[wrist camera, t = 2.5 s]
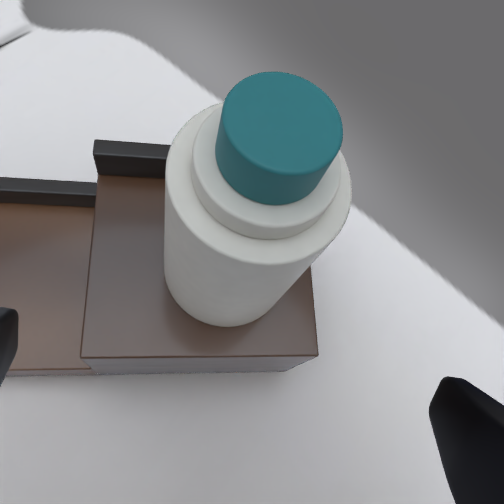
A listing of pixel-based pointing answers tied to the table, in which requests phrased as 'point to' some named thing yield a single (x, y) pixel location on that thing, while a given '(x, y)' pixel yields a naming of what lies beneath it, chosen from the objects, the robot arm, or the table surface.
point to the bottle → (252, 197)
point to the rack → (122, 281)
